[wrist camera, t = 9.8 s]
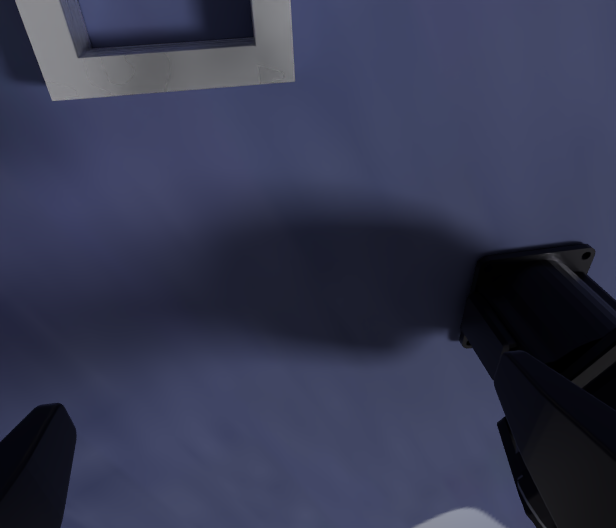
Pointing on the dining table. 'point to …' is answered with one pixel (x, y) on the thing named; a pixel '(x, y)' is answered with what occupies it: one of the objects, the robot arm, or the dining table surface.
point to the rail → (155, 55)
